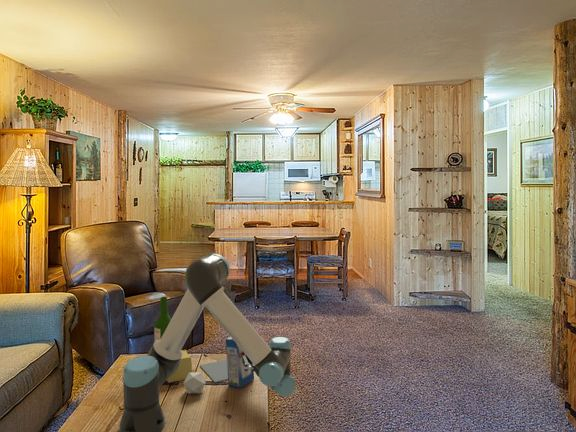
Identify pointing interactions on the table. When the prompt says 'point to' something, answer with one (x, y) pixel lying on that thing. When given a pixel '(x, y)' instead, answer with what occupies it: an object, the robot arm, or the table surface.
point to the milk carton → (236, 365)
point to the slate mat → (216, 370)
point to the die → (194, 383)
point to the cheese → (182, 368)
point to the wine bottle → (162, 320)
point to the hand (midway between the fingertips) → (242, 350)
